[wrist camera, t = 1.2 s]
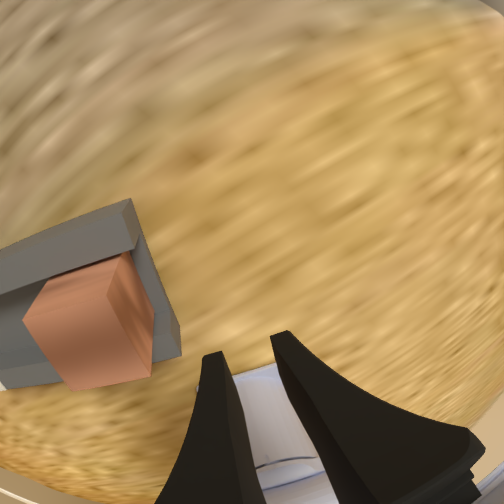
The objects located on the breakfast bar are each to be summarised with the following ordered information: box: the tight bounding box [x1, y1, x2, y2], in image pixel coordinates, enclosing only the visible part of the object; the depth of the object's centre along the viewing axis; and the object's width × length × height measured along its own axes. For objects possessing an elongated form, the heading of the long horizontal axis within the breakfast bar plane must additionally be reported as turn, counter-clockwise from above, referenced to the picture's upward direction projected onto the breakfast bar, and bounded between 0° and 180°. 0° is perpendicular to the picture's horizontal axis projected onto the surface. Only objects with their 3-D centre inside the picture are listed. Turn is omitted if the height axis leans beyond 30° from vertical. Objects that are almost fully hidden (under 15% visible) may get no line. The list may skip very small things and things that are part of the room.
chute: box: [0, 198, 182, 391], centre depth 16 cm, size 10×18×3 cm, turn 102°
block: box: [22, 251, 155, 391], centre depth 15 cm, size 5×5×6 cm
